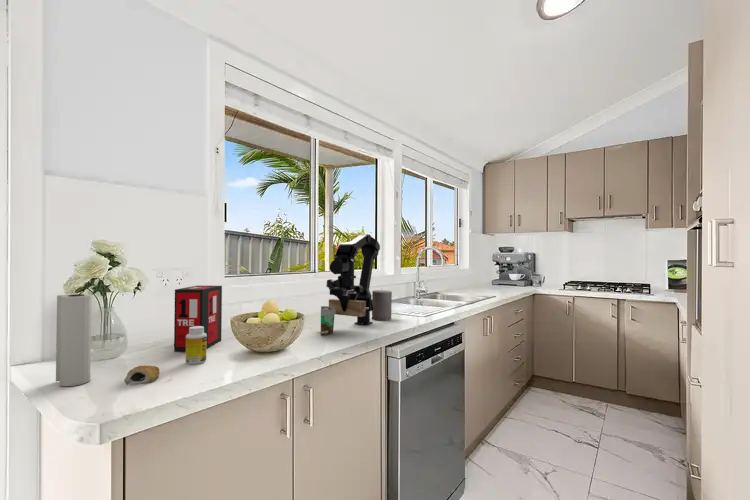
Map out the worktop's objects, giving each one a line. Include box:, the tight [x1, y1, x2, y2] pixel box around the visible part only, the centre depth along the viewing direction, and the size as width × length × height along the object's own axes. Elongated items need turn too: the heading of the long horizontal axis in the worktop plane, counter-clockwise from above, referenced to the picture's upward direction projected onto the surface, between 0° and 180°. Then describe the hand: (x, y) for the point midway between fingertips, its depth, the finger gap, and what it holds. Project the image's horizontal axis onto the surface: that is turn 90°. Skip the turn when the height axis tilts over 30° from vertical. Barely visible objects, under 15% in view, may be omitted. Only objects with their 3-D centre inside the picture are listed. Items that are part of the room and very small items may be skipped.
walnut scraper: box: [328, 298, 366, 318], centre depth 166 cm, size 4×16×6 cm, turn 59°
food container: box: [320, 305, 337, 336], centre depth 161 cm, size 12×6×10 cm, turn 7°
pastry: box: [123, 364, 160, 386], centre depth 101 cm, size 9×7×4 cm
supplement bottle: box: [185, 326, 208, 365], centre depth 116 cm, size 6×6×10 cm
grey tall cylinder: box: [55, 293, 92, 387], centre depth 97 cm, size 7×6×21 cm
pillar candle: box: [371, 289, 393, 321], centre depth 196 cm, size 10×10×15 cm
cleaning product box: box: [173, 285, 223, 353], centre depth 136 cm, size 16×9×20 cm, turn 0°
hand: (346, 310), depth 166 cm, fingers closed on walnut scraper, 4 cm apart
